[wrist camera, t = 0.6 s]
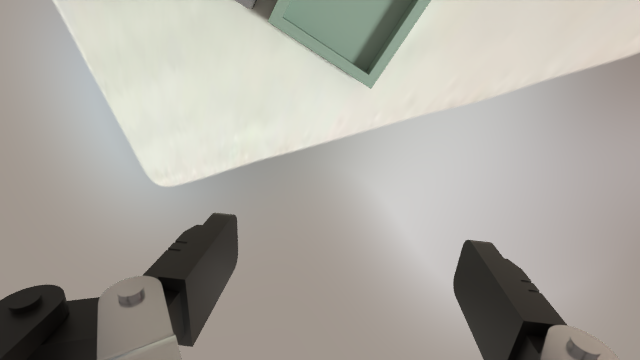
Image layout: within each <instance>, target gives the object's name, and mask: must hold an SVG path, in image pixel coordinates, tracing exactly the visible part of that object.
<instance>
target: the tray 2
mask: <svg viewBox="0 0 640 360" xmlns="http://www.w3.org/2000/svg"><path fill="white" fill-rule="evenodd" d="M430 1H431V0H278V1H277V3H276V5H275V7H274V9H273V11H272V13H271V16H270V18H269V20H268V22H269V23H271V24H272V25H274V26H275V27H277V28H278V29H280V30H281V31H283V32H284V33H286V34H288V35H289V36H291V37H292V38H294V39H295V40H297V41H298V42H300V43H301V44H303V45H304V46H306V47H308V48H309V49H311V50H312V51H314V52H315V53H317V54H318V55H320V56H321V57H323V58H324V59H326V60H328V61H329V62H331V63H332V64H334V65H335V66H337V67H338V68H340V69H341V70H343V71H344V72H346V73H348V74H349V75H351V76H352V77H354V78H355V79H357V80H358V81H360V82H361V83H363V84H364V85H366V86H368V87H369V88H372V87H373V85H374V84H375V82H376V81H377V79H378V78H379V76H380V75H381V73H382V72H383V70H384V69H385V68H386V66H387V65H388V63H389V62H390V60H391V59H392V57H393V56H394V54H395V53H396V51H397V50H398V48H399V47H400V45H401V44H402V42H403V41H404V40H405V38H406V37H407V35H408V34H409V32H410V31H411V29H412V28H413V26H414V25H415V23H416V22H417V20H418V19H419V17H420V16H421V14H422V13H423V12H424V10H425V9H426V7H427V6H428V4H429V3H430Z"/></svg>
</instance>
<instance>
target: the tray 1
mask: <svg viewBox="0 0 640 360" xmlns="http://www.w3.org/2000/svg"><path fill="white" fill-rule="evenodd" d="M235 1H237V2H238V3H240V4H241V5H243V6H245V7H246V8H248V9H253V7H254V4H255V2H256V0H235Z"/></svg>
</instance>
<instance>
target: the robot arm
mask: <svg viewBox="0 0 640 360" xmlns="http://www.w3.org/2000/svg"><path fill="white" fill-rule="evenodd" d="M237 238H238V235H237V218H236V216H235V215H232V214H222V213H213V214H212V215H211V216H210V217H209V218H208V219H207V221H206V222H205V223H204V224H203V225H196V226H194V227H192V228H190V229H188V230H187V231H185V232H183V234H181V235H180V236H179V238H178V239H177V240H176V242H175V243H173V244H172V245H171V246H170V247H169V248H168V250H166V251H165V252H164V254H163V255H162V256H161V257H160V258H159V259H158V260H157V261H156V262H155V263H154V264H153V265H152V266H151V267H150V268H149V269H148V270H147V271H146V272H145V273H144V275H143V276H136V277H131V278H127V279H124V280H122V281H119V282H117V283H115V284H113V285H112V286H110V287H109V288H108V289H107V290H105V291H104V292H103V294H102V295H101V296H100V297H98V298H90V299H81V300H72V301H66V297H65V294H64V291H63V289H61V288H60V287H58V286H55V285H39V286H34V287H30V288H26V289H23V290H21V291H18V292H15V293H13V294H11V295H9V296H7V297H5V298H4V299H2V300H0V360H182V358H181V354H180V350H179V346H178V345H183V346H193V345H194V343H195V341H196V339H197V338H198V336H199V334H200V332H201V330H202V328H203V327H204V325H205V323H206V321H207V319H208V317H209V315H210V314H211V312H212V310H213V308H214V306H215V304H216V302H217V301H218V299H219V297H220V295H221V293H222V291H223V290H224V288H225V286H226V284H227V282H228V280H229V278H230V277H231V275H232V273H233V271H234V269H235V266H236V263H237V258H238V239H237ZM454 293H455V296H456V299H457V300H458V303H459V305H460V307H461V310H462V312H463V314H464V316H465V319H466V321H467V323H468V325H469V328H470V330H471V332H472V334H473V337H474V339H475V341H476V343H477V345H478V348H479V350H480V352H481V354H482V357H483V359H484V360H619V358H618V357H617V356H616V354H615V353H614V352H613V351H612V350H611V349H610V348H609V347H608V346H607V345H605V344H604V343H603V342H602V341H600V340H599V339H597V338H596V337H594V336H592V335H590V334H589V333H587V332H585V331H582V330H580V329H577V328H574V327H571V326H568V325H567V324H566V323H565V322H564V321H563V319H562V318H561V317H560V316H559V314H558V313H557V312H556V311H555V310H554V308H553V307H552V306H551V305H550V303H549V302H548V301H547V300H546V298H545V297H544V296H543V295H542V294H541V293H539V290H538V289H537V287H536V286H535V285H534V284H533V283H531V280H530V279H529V278H528V276H527V275H526V274H525V273H524V272H523V271H522V269H521V268H519V267H518V266H516V265H515V264H514V263H512V262H511V261H510V260H508V259H504V258H503V257H502V255H501V254H500V253H499V251H498V250H497V249H496V248H495V246H494V245H493V244H492V243H490V242H482V241H473V240H466V241H465V243H464V244H463V248H462V251H461V255H460V258H459V261H458V265H457V269H456V272H455V276H454Z"/></svg>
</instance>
